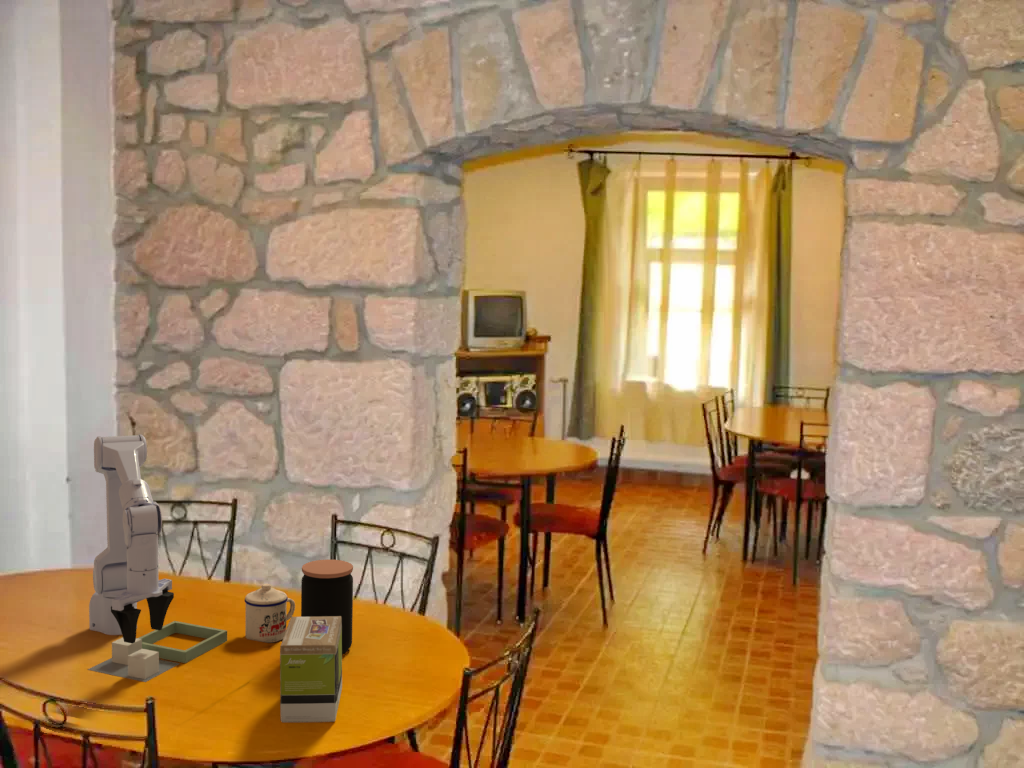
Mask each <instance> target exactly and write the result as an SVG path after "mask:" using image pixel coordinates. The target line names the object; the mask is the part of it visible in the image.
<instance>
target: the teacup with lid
mask: <svg viewBox="0 0 1024 768" xmlns="http://www.w3.org/2000/svg"><path fill="white" fill-rule="evenodd" d="M244 602H245V639H246V640H250V641H256V642H261V643H267V644H270V643H272V644H273V643H276V642H279V641H281V640H283V638H284V635H285V633H286V630H287V621H290V619H291V617H292V616H293V615H294V613H295V610H296V602H295V600H294V599H292V598H289V597H288V595H287V594H286V593H285V591H282V590H279V589H276V588H274V587H272V585H271V584H270V583H262V584H261V587H260V588H258V589H256V590H254V591H251V592H249V593H247V594H246V595H245V597H244ZM287 603H289V606H290V607H289V609H288V613H287Z"/></svg>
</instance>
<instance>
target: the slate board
mask: <svg viewBox="0 0 1024 768" xmlns="http://www.w3.org/2000/svg"><path fill="white" fill-rule="evenodd" d="M180 664H181V662H179V663H178V662H176V661H171V660H166V659H161V658H159V672H157V673H155V674H154V675H152V676H150V677H148V678H146V679H142V678H137V677H133V676H128V665H125V664H120V663H115V662H112V657H110V658H109V659H107V660H104V661H103V662H99V663H98V664H95V665H94V666H92V667H90V668H87V670H88V671H90V672H91V671H92V672H95V673H101V674H105V675H111V676H115V677H120V678H125V679H129V680H134V681H138V682H144V683H147V682H148V681H151V680H152V679H154V678H157V677H158V676H160V675H162V674H163V673H166V672H168V671H169V670H171V669H173V668H175V667H177V666H178V665H180Z"/></svg>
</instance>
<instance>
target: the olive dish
mask: <svg viewBox="0 0 1024 768" xmlns="http://www.w3.org/2000/svg"><path fill="white" fill-rule="evenodd" d="M173 634H180V635H187V636H191V637H196V638H202V639H204V640H202V641H200V642H198V643H196V644H195V645H193V646H191V647H189V648H187V649H185V650H184V649H179V648H173V647H169V646H165V645H160V644H159V645H158V644H156V643H157V642H160V641H161V640H163V639H165V638H168V637H169V636H171V635H173ZM138 638H139V639H142V649H147V650H152V651H157V652H159V659H161V660H166V661H171V662H176V663H178V662H179V663H183V664H187V663H188V662H191V661H192V660H195V659H196V658H198V657H199V656H202V655H204V654H205V653H207V652H209V651H210V650H213V649H215V648H217V647H218V646H221V645H223V644H224V643H225V642H226V643H227V641H228V630H227V629H220V628H215V627H209V626H204V625H199V624H193V623H188V622H184V621H183V622H182V621H176V620H173V621H172V622H171V621H170V622H169V623H167V624H165V625H163V627H162V630H154V629H153V631H151V632H150V631H149V632H148V633H146V634H143V635H142V636H140V637H138Z"/></svg>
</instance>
